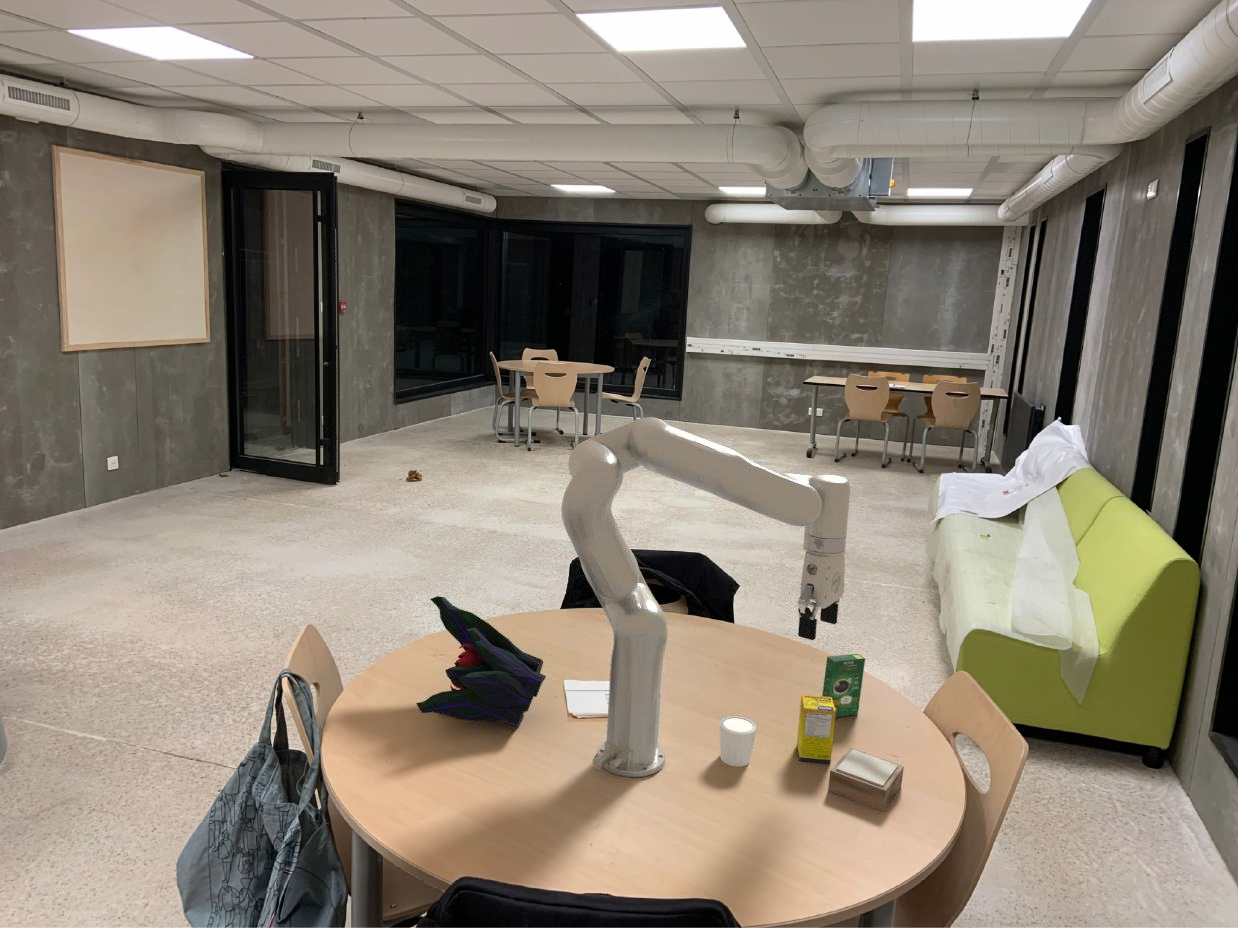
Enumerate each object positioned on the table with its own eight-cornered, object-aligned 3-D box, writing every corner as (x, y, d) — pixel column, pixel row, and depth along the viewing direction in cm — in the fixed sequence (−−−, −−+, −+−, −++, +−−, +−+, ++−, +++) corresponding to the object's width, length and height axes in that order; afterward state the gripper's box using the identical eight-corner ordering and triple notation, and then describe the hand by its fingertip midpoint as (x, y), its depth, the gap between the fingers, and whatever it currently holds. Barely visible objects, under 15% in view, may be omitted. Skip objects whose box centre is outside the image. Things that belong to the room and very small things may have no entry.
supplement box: (826, 748, 172) (832, 696, 170) (830, 764, 166) (836, 710, 164) (795, 745, 172) (801, 693, 170) (798, 761, 166) (804, 707, 164)
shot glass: (725, 770, 162) (728, 735, 161) (711, 750, 169) (714, 717, 167) (759, 766, 164) (762, 731, 163) (744, 747, 170) (747, 714, 169)
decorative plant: (506, 778, 172) (367, 720, 176) (553, 679, 193) (428, 629, 196) (521, 716, 160) (371, 655, 163) (569, 618, 180) (435, 565, 183)
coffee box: (851, 709, 188) (858, 651, 186) (859, 715, 186) (866, 657, 183) (819, 713, 186) (825, 655, 183) (826, 720, 183) (833, 661, 180)
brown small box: (883, 811, 152) (886, 789, 151) (827, 790, 157) (830, 768, 156) (901, 786, 160) (904, 764, 159) (848, 767, 165) (850, 746, 164)
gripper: (824, 558, 153) (817, 650, 156) (862, 536, 166) (854, 621, 170) (785, 549, 157) (778, 639, 161) (824, 528, 171) (818, 611, 174)
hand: (817, 629), depth 165 cm, fingers open, 9 cm apart
